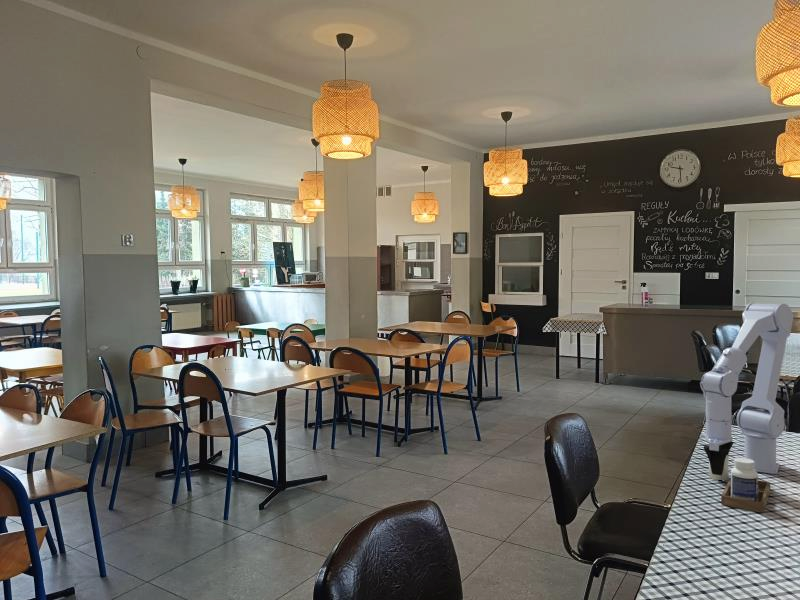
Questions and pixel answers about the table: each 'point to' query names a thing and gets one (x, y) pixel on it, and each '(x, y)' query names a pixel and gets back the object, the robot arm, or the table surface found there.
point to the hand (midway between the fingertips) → (718, 471)
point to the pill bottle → (744, 479)
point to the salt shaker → (725, 471)
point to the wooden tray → (744, 502)
